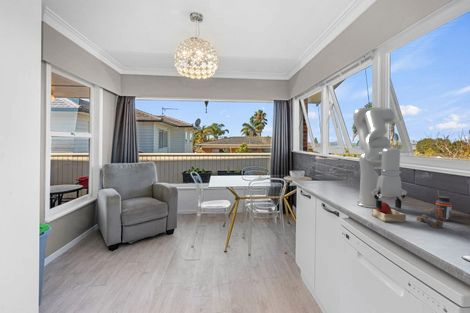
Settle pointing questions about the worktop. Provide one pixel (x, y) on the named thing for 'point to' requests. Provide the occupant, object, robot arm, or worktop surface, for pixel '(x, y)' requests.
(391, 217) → the wooden tray
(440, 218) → the supplement bottle
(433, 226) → the clip
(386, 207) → the onion
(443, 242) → the worktop surface
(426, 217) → the clip
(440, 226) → the gray square bar
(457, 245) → the worktop surface
